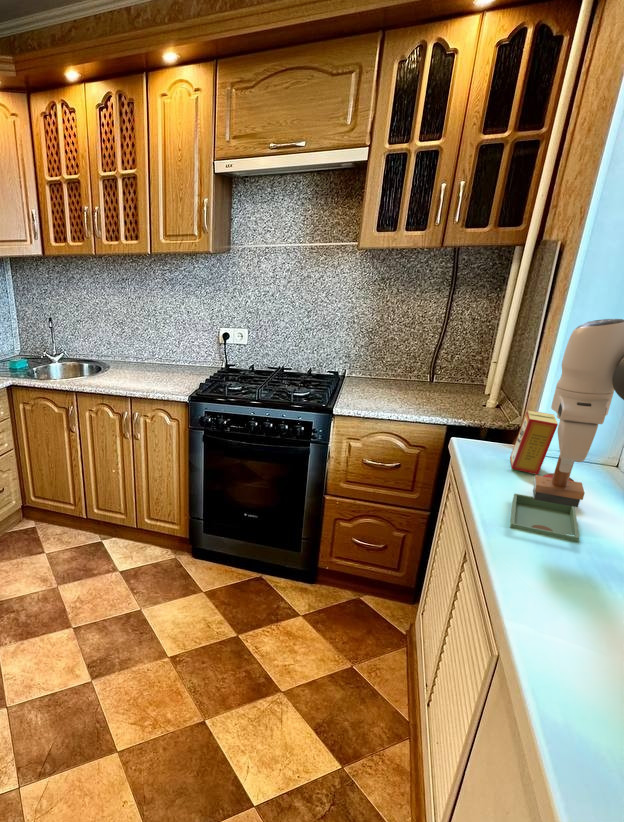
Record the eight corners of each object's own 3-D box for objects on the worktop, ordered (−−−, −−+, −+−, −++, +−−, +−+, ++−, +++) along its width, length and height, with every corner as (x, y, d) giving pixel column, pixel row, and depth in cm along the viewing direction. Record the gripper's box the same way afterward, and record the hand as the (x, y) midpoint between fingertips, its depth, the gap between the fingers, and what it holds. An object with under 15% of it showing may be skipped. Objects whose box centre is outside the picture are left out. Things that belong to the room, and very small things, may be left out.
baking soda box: (538, 474, 151) (558, 423, 145) (511, 468, 154) (530, 417, 148) (535, 463, 159) (554, 413, 152) (509, 457, 162) (527, 408, 155)
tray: (511, 503, 135) (514, 493, 134) (571, 514, 128) (574, 504, 127) (508, 534, 120) (511, 523, 119) (576, 549, 114) (579, 538, 113)
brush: (532, 500, 111) (544, 454, 107) (531, 489, 115) (543, 445, 111) (579, 508, 107) (595, 461, 103) (576, 497, 111) (591, 452, 107)
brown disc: (548, 530, 120) (549, 526, 120) (554, 539, 117) (555, 534, 116) (527, 528, 122) (529, 523, 121) (533, 536, 118) (534, 532, 118)
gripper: (558, 390, 113) (544, 450, 118) (562, 413, 98) (545, 481, 102) (596, 393, 110) (580, 455, 114) (606, 418, 94) (586, 488, 99)
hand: (563, 467), depth 108 cm, fingers closed on brush, 3 cm apart
